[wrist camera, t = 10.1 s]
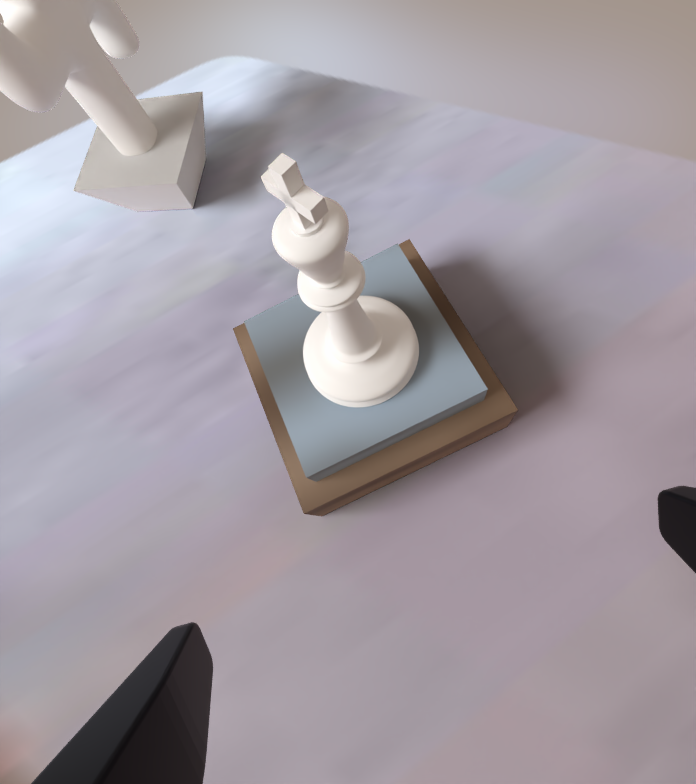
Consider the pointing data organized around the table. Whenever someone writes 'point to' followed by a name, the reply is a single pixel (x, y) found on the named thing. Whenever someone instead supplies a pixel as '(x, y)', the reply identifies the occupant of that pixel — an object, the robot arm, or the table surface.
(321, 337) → the chess piece
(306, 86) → the table surface
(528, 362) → the table surface
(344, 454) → the stepped pedestal base
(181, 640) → the robot arm
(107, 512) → the table surface
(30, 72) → the figurine
